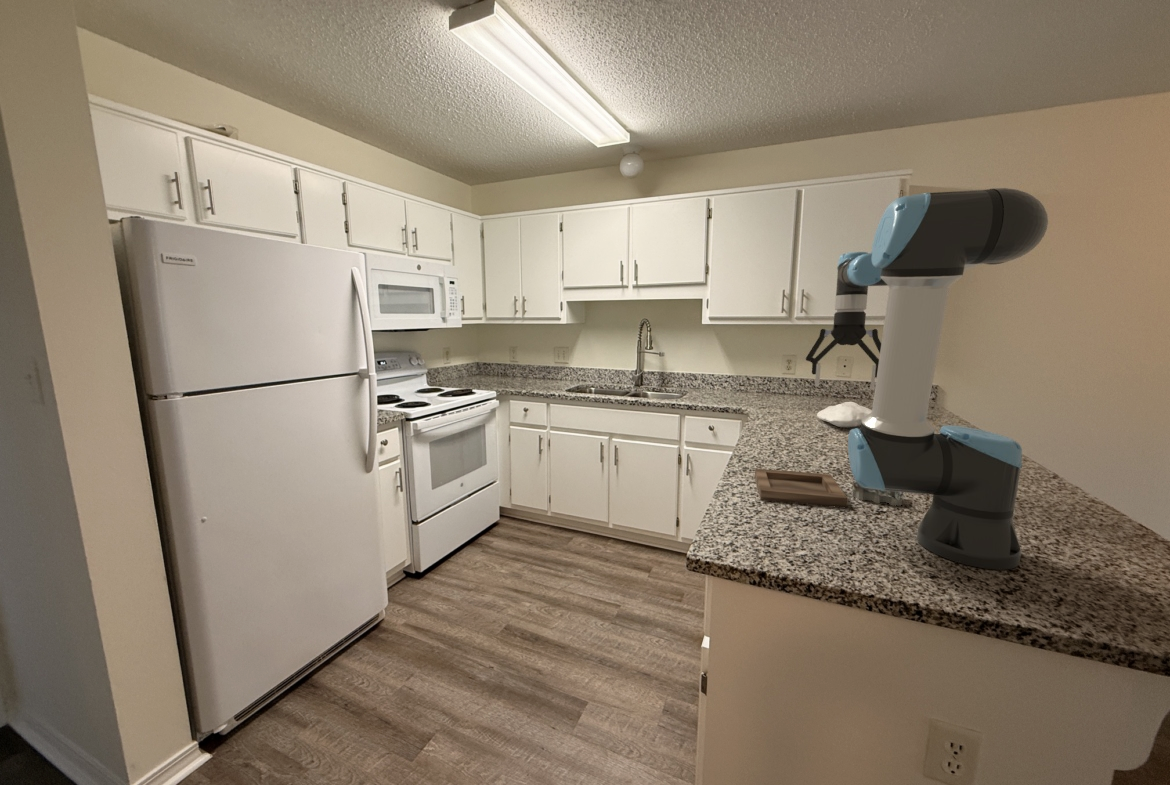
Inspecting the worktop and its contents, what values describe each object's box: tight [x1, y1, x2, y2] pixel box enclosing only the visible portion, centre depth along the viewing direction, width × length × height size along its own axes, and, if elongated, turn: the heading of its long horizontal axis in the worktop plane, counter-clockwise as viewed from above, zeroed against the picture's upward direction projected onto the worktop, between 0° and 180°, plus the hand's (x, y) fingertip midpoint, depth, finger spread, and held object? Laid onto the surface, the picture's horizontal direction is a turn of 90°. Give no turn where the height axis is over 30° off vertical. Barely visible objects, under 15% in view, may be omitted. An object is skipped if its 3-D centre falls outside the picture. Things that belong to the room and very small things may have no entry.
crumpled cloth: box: [816, 401, 872, 428], centre depth 189 cm, size 24×35×9 cm
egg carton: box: [851, 480, 904, 507], centre depth 112 cm, size 11×8×4 cm
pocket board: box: [754, 468, 849, 509], centre depth 117 cm, size 17×19×2 cm
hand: (843, 387), depth 128 cm, fingers open, 13 cm apart
